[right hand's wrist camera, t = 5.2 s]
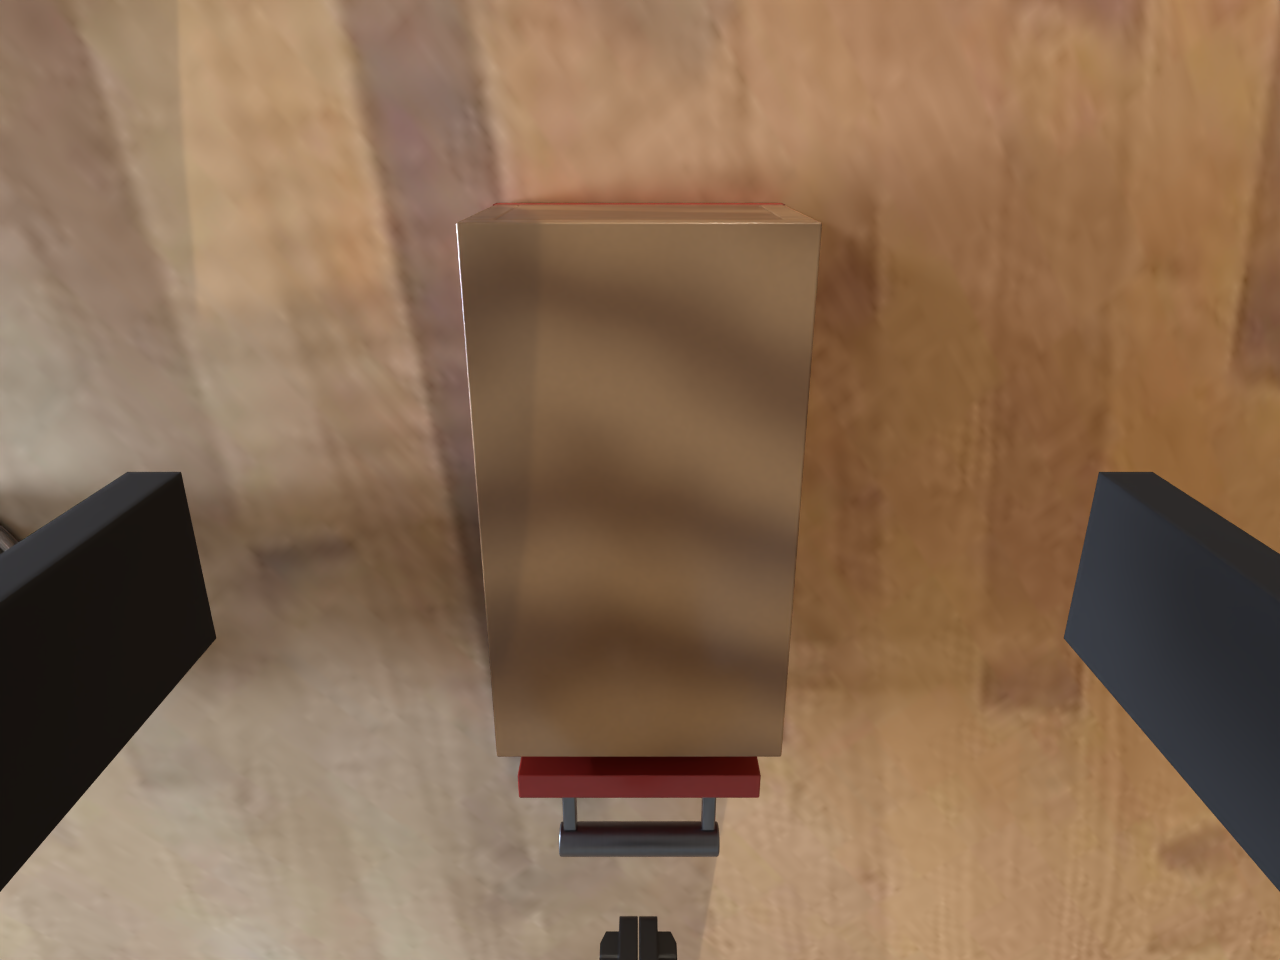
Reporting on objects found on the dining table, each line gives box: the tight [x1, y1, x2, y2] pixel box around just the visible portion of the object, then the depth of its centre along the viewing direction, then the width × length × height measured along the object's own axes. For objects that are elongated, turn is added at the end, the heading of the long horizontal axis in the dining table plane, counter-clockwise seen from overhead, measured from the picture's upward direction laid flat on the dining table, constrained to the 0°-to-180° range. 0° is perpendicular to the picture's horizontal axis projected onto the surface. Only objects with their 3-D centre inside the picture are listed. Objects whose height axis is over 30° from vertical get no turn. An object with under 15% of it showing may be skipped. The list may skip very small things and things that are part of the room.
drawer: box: [518, 756, 761, 857], centre depth 37 cm, size 25×10×6 cm, turn 0°
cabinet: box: [456, 203, 822, 757], centre depth 34 cm, size 21×11×8 cm, turn 0°
